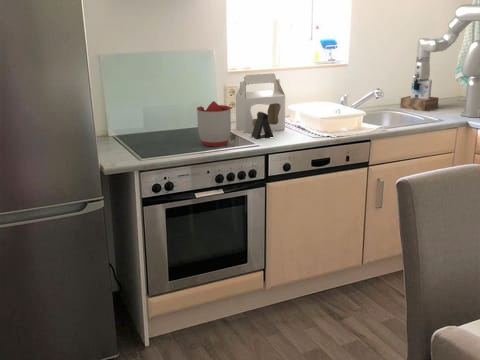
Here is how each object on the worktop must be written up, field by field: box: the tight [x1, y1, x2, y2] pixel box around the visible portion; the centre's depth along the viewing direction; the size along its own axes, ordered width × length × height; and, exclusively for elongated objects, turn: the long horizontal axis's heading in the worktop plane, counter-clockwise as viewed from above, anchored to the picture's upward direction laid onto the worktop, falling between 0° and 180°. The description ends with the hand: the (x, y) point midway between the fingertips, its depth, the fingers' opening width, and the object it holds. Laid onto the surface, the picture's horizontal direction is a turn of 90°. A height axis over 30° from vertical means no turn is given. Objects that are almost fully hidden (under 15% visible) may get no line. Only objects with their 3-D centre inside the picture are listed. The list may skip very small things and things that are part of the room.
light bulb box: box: [410, 79, 433, 99], centre depth 333 cm, size 11×7×11 cm, turn 62°
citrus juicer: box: [196, 100, 232, 147], centre depth 254 cm, size 16×17×20 cm
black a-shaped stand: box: [251, 111, 274, 140], centre depth 267 cm, size 9×6×12 cm, turn 112°
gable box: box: [235, 73, 286, 134], centre depth 282 cm, size 22×13×28 cm, turn 112°
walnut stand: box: [399, 95, 439, 112], centre depth 336 cm, size 16×16×6 cm
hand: (420, 89), depth 333 cm, fingers open, 9 cm apart
